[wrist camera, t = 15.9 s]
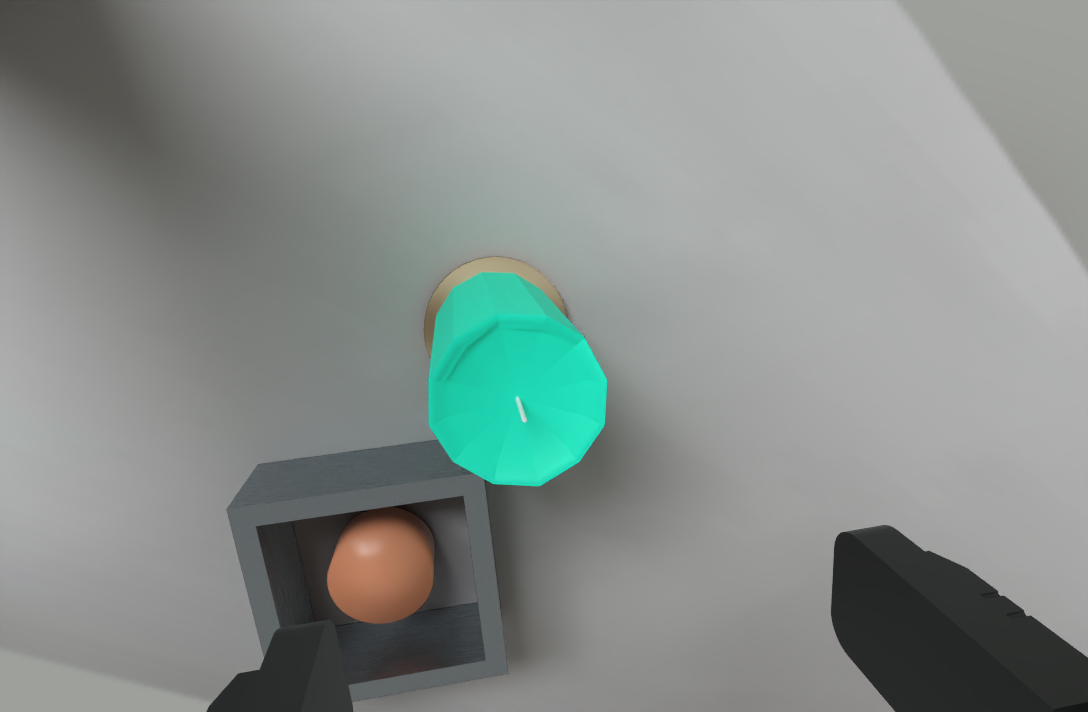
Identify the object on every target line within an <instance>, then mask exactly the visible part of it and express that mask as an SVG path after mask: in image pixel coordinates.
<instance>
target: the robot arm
mask: <svg viewBox="0 0 1088 712" xmlns="http://www.w3.org/2000/svg"><path fill="white" fill-rule="evenodd" d="M831 617H832V623H833V627H834V630H835V633H836V636H837V638H838V640H839V642H840V644H841V646H842V648H843V649H844V651H845V652H846V654H847V655H848V656H849V657H850V658H851V660H852V661H853V662H854V663H855V664H856V666H857V667H858V668H859V669H860V670H861V671H862V673H863V674H864V675H865V676H866V677H867V679H868V680H869V681H870V682H871V683H872V684H873V686H874V687H875V688H876V689H877V690H878V692H879V693H880V694H881V695H882V696H883V697H884V699H885V700H886V701H887V702H888V703H889V705H890V706H891V707H892V708H893V709H894V710H895V712H1088V658H1087V657H1086V656H1085V655H1083V654H1082V653H1081V652H1079V651H1078V650H1077V649H1075V648H1074V647H1073V646H1071V645H1070V644H1068V643H1067V642H1066V641H1064V640H1063V639H1062V638H1060V637H1059V636H1058V635H1056V634H1055V633H1054V632H1052V631H1051V630H1050V629H1048V628H1047V627H1046V626H1044V625H1043V624H1042V623H1040V622H1039V621H1038V620H1036V619H1035V618H1033V617H1032V616H1026V615H1025V613H1024V610H1023V609H1021V608H1020V607H1019V606H1017V605H1016V604H1015V603H1013V602H1012V601H1011V600H1009V599H1008V598H1007V597H1005V596H1000V595H999V594H998V591H997V590H996V589H994V588H993V587H992V586H990V585H989V584H988V583H986V582H985V581H984V580H982V579H981V578H980V577H978V576H977V575H976V574H974V573H973V572H972V571H970V570H969V569H967V568H966V567H963V566H961V565H959V564H957V563H955V562H952V561H950V560H948V559H946V558H944V557H941V556H939V555H937V554H935V553H933V552H930V551H926V552H925V551H923V550H922V549H921V548H920V547H918V546H917V545H916V544H914V543H913V542H912V541H911V540H909V539H908V538H907V537H905V536H904V535H903V534H901V533H900V532H899V531H898V530H896V529H895V528H893V527H891V526H888V525H882V526H876V527H870V528H865V529H859V530H853V531H847V532H842V533H840V534H839V535H838V536H837V538H836V541H835V546H834V564H833V584H832V603H831ZM207 712H353V706H352V700H351V695H350V690H349V686H348V681H347V677H346V672H345V668H344V663H343V659H342V654H341V650H340V645H339V641H338V637H337V632H336V628H335V626H334V623H333V622H332V621H331V620H324V621H318V622H312V623H307V624H301V625H295V626H289V627H283V628H279V629H277V630H276V631H275V633H274V634H273V637H272V639H271V642H270V644H269V647H268V650H267V652H266V655H265V657H264V660H263V662H262V665H261V668H260V670H256V671H250V672H244V673H239V674H237V675H236V677H235V678H234V679H233V680H232V681H231V682H230V683H229V684H228V686H227V687H226V688H225V689H224V690H223V691H222V692H221V693H220V695H219V696H218V697H217V698H216V699H215V700H214V701H213V702H212V704H211V705H210V706H209V707H208V710H207Z"/></svg>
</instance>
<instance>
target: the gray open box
mask: <svg viewBox="0 0 1088 712" xmlns="http://www.w3.org/2000/svg"><path fill="white" fill-rule="evenodd" d="M458 496H464V504H465V511H466V518H467V526H468V533H469V540H470V548H471V555H472V563H473V570H474V577H475V585H476V592H477V599H478V603H472V604H466V605H460V606H454V607H448V608H442V609H436V610H430V611H424V612H418V613H413V614H411V615H409V616H408V617H406V618H404V619H401V620H398V621H395V622H391V623H384V624H374V623H367V622H358V623H352V624H346V625H340V626H335V628H336V632H337V637H338V641H339V645H340V650H341V654H342V659H343V663H344V668H345V672H346V677H347V681H348V686H349V690H350V695H351V700H352V702H354V701H360V700H365V699H371V698H376V697H382V696H387V695H393V694H398V693H404V692H409V691H415V690H420V689H426V688H431V687H437V686H442V685H448V684H453V683H459V682H464V681H470V680H475V679H481V678H486V677H492V676H497V675H503V674H508V668H507V659H506V651H505V642H504V633H503V625H502V616H501V608H500V600H499V592H498V584H497V576H496V568H495V560H494V552H493V544H492V536H491V528H490V520H489V512H488V504H487V496H486V487H485V479H483V478H481V477H480V476H478V475H476V474H474V473H472V472H471V471H469V470H467V469H465V468H463V467H462V466H460V465H458V464H456V463H454V462H453V461H452V460H451V458H450V457H449V455H448V454H447V452H446V451H445V449H444V448H443V446H442V445H441V443H440V442H439V440H434V441H426V442H419V443H412V444H404V445H397V446H390V447H382V448H375V449H367V450H360V451H353V452H345V453H338V454H331V455H323V456H316V457H309V458H301V459H294V460H287V461H279V462H272V463H265V464H258V465H257V467H256V468H255V469H254V471H253V472H252V474H251V475H250V477H249V478H248V479H247V481H246V482H245V484H244V485H243V486H242V488H241V489H240V491H239V492H238V493H237V495H236V496H235V498H234V499H233V501H232V502H231V503H230V505H229V506H228V508H227V509H226V510H227V514H228V517H229V521H230V525H231V529H232V533H233V537H234V541H235V545H236V549H237V553H238V557H239V561H240V565H241V569H242V573H243V577H244V581H245V584H246V588H247V592H248V596H249V600H250V604H251V608H252V612H253V616H254V620H255V624H256V628H257V632H258V636H259V640H260V644H261V648H262V651H263V655H264V657H265V655H266V652H267V650H268V647H269V644H270V642H271V639H272V637H273V634H274V633H275V631H276V630H277V629H279V628H283V627H289V626H295V625H301V624H307V623H312V622H315V621H314V617H313V612H312V608H311V603H310V599H309V594H308V590H307V585H306V581H305V576H304V572H303V567H302V563H301V558H300V554H299V549H298V545H297V540H296V536H295V531H294V527H293V522H292V521H295V520H302V519H309V518H315V517H322V516H329V515H336V514H343V513H349V512H356V511H363V510H370V509H377V508H383V507H390V506H397V505H404V504H411V503H417V502H424V501H431V500H438V499H445V498H451V497H458Z"/></svg>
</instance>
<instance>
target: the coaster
mask: <svg viewBox="0 0 1088 712" xmlns="http://www.w3.org/2000/svg"><path fill="white" fill-rule="evenodd" d="M481 272H500V273H515V274H517V275H518V276H520V277H522V278H523V279H525V280H527V281H528V282H530V283H531V284H533V285H535V286H536V287H538V288H540V289H541V290H542V291H543V292H544V293H545V294H546V295H547V296H548V298H549V299H550V300H551V301H552V302H553V303H554V304H555V305H556V306H557V308H558V309H559V310H560V311H561V312H562V313H563V314H564V315H565V316H566V318H567V314H566V310H565V307H564V304H563V301H562V299H561V297H560V295H559V293H558V292H557V290H556V288H555V287H554V286H553V285H552V283H551V282H550V281H549V280H548V279H547V278H546V277H545V276H544V275H543V274H542V273H541V272H539V271H538V270H536V269H535V268H534V267H532V266H530V265H528V264H526V263H524V262H521V261H518V260H515V259H511V258H505V257H487V258H481V259H477V260H473V261H470V262H468V263H466V264H464V265H462V266H460V267H458V268H457V269H455V270H454V271H452V272H451V273H450V274H449V275H448V276H446V277H445V278H444V280H443V281H442V282H441V283H440V284H439V285H438V287H437V288H436V290H435V291H434V293H433V295H432V297H431V299H430V301H429V304H428V307H427V311H426V316H425V322H424V336H425V343H426V347H427V350H428V353H429V356H430V358H431V354H432V345H433V337H434V329H435V320H436V315H437V313H438V311H439V310H440V308H441V306H442V305H443V303H444V301H445V300H446V298H447V296H448V295H449V293H450V291H451V290H452V288H453V287H455V286H457V285H459V284H460V283H462V282H464V281H466V280H468V279H470V278H471V277H473V276H475V275H477V274H479V273H481Z"/></svg>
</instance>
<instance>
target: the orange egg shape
mask: <svg viewBox="0 0 1088 712" xmlns="http://www.w3.org/2000/svg"><path fill="white" fill-rule="evenodd" d="M434 558H435V543H434V538H433V536H432V533H431V531H430V529H429V528H428V526H427V525H426V524H425V523H424V522H423V521H422V520H421V519H420V518H419V517H417V516H416V515H414V514H413V513H411V512H408V511H406V510H403V509H399V508H393V507H383V508H377V509H371V510H368V511H365V512H363V513H361V514H359V515H358V516H356V517H355V518H353V519H352V520H351V521H350V522H349V523H348V524H347V525H346V526H345V528H344V529H343V530H342V532H341V534H340V536H339V539H338V542H337V545H336V548H335V551H334V554H333V558H332V561H331V564H330V567H329V570H328V575H327V584H328V590H329V593H330V595H331V597H332V599H333V601H334V602H335V604H336V605H337V606H338V607H339V609H341V610H342V611H343V612H344V613H345V614H347V615H349V616H350V617H352V618H354V619H356V620H359V621H362V622H367V623H374V624H384V623H391V622H395V621H398V620H401V619H404V618H406V617H408V616H409V615H411V614H413V613H414V612H415V611H417V610H418V609H419V608H420V607H421V606H422V605H423V604H424V602H425V601H426V600H427V598H428V596H429V594H430V592H431V589H432V586H433V578H434Z"/></svg>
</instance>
